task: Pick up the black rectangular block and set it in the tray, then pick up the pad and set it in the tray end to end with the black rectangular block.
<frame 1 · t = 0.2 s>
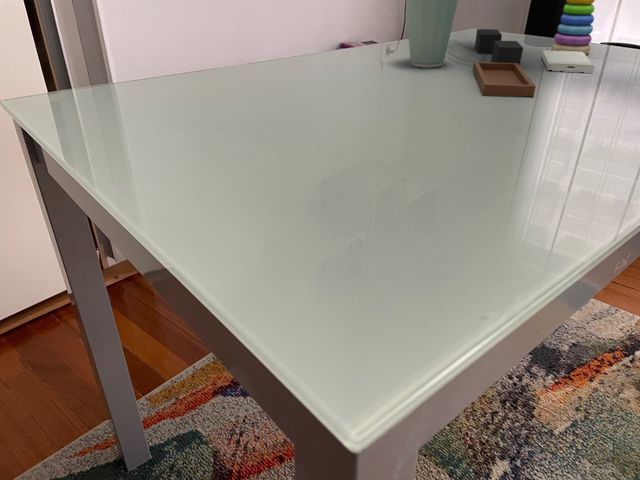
hard drive: (565, 66, 106), on the table
stacking toy: (569, 53, 117), on the table
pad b: (486, 50, 119), on the table
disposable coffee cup: (425, 65, 107), on the table
tray: (500, 83, 94), on the table
black rectangular block: (504, 64, 107), on the table
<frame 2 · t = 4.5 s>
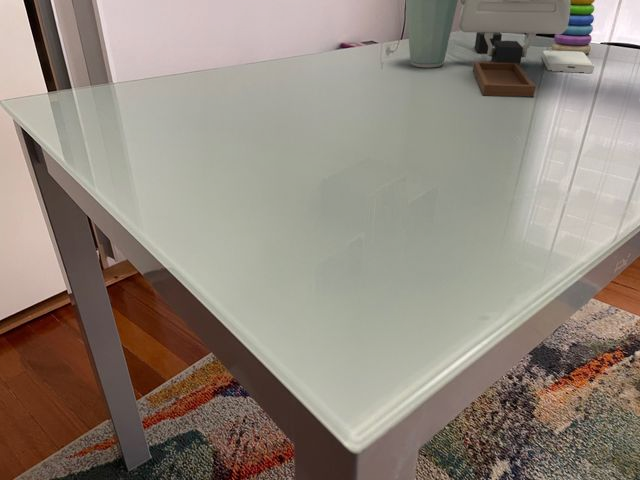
hand: (506, 56, 106), 2 cm above the table, tool pointing down, fingers closed on black rectangular block, 4 cm apart
black rectangular block: (504, 64, 107), on the table, touching gripper
everything else where it was.
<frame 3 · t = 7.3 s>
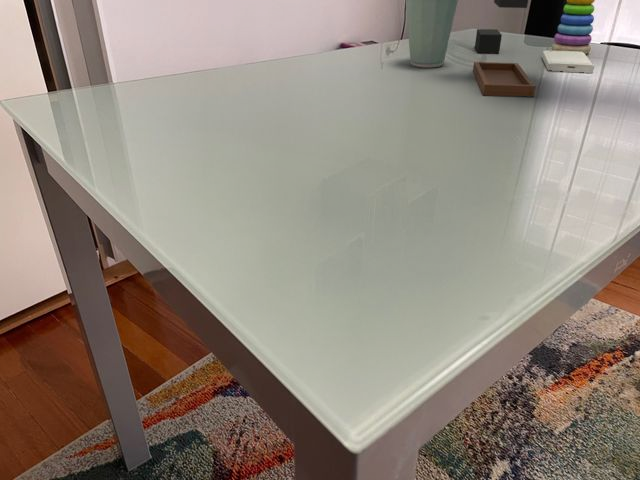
black rectangular block: (509, 5, 91), point 12 cm above the table, touching gripper
everything else where it was.
when the fingers open (2 cm above the table, at t = 10.3 s): black rectangular block stays where it is, resting on tray.
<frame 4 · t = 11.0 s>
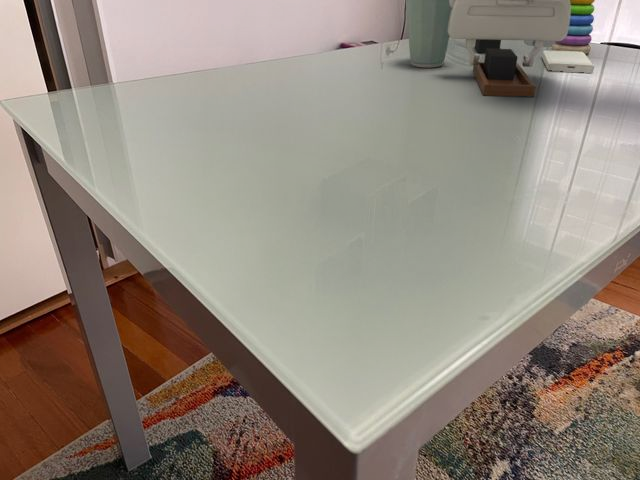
hand: (500, 65, 96), 2 cm above the table, tool pointing down, fingers open, 8 cm apart
black rectangular block: (497, 75, 97), point 1 cm above the table, touching tray
everything else where it was.
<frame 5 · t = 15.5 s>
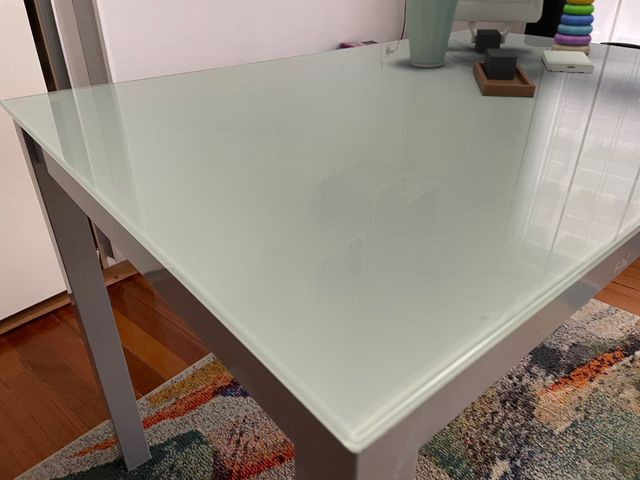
hand: (487, 43, 118), 2 cm above the table, tool pointing down, fingers closed on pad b, 4 cm apart
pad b: (486, 50, 119), on the table, touching gripper
everything else where it was.
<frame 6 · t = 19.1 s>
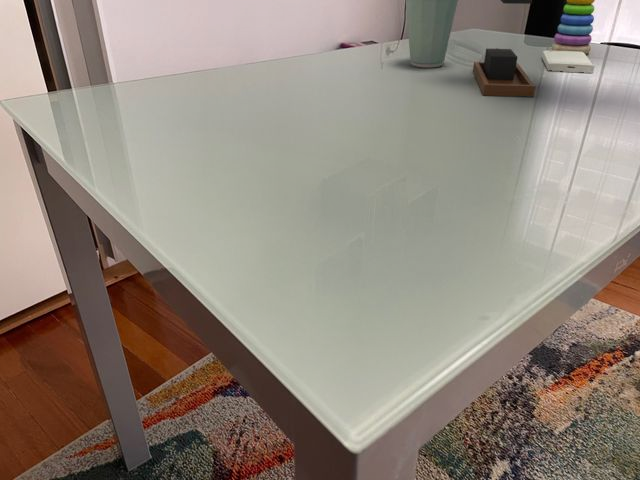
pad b: (514, 1, 89), point 13 cm above the table, touching gripper
everything else where it was.
when the fingers open (2 cm above the table, at t = 22.9 s): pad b stays where it is, resting on tray.
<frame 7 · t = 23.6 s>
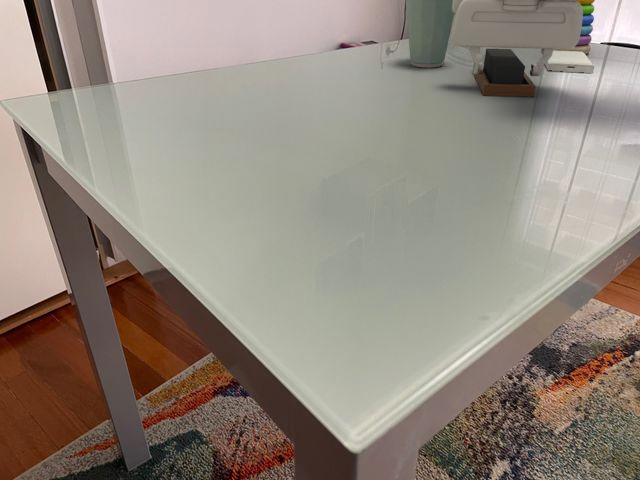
hand: (506, 74, 90), 2 cm above the table, tool pointing down, fingers open, 8 cm apart
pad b: (503, 85, 91), point 1 cm above the table, touching tray
everything else where it was.
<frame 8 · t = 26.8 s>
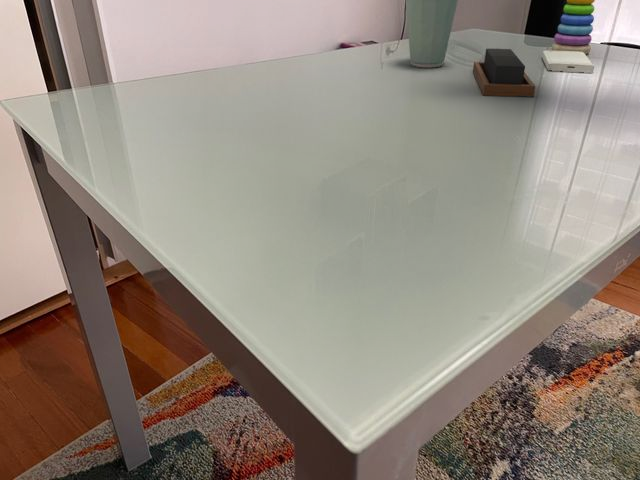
nothing on the table moved.
at the end: black rectangular block 0.3 cm from the target spot in the tray, point 0.6 cm above the tray's base; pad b 0.1 cm from the target spot in the tray, point 0.6 cm above the tray's base; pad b 7.2 cm from the black rectangular block (horizontally) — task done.
